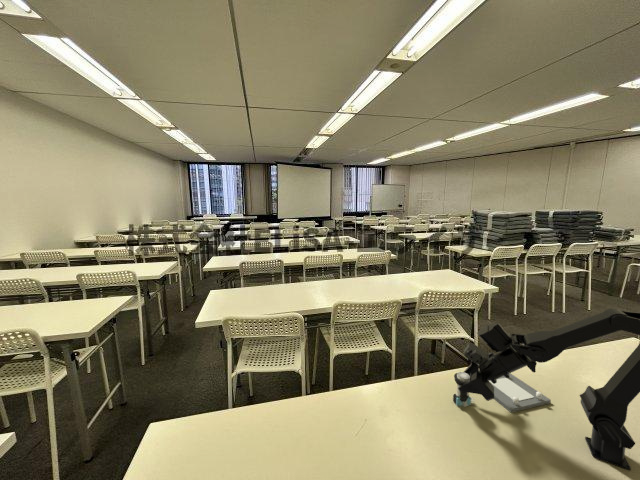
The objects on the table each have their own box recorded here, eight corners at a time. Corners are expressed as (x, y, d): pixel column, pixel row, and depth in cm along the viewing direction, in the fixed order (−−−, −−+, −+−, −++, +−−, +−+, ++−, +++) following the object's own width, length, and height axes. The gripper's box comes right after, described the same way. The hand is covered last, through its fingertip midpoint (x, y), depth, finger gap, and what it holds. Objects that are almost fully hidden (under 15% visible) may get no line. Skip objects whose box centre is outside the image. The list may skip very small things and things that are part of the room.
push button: (468, 396, 85) (469, 369, 84) (479, 408, 80) (481, 379, 79) (449, 398, 85) (450, 370, 84) (459, 410, 80) (461, 381, 78)
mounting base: (550, 403, 82) (551, 394, 82) (510, 412, 78) (511, 403, 78) (509, 375, 96) (510, 367, 95) (474, 382, 92) (474, 374, 92)
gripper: (482, 327, 85) (445, 348, 93) (482, 353, 70) (437, 377, 77) (510, 356, 82) (469, 375, 89) (516, 390, 66) (465, 411, 74)
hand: (460, 383), depth 82 cm, fingers open, 7 cm apart
